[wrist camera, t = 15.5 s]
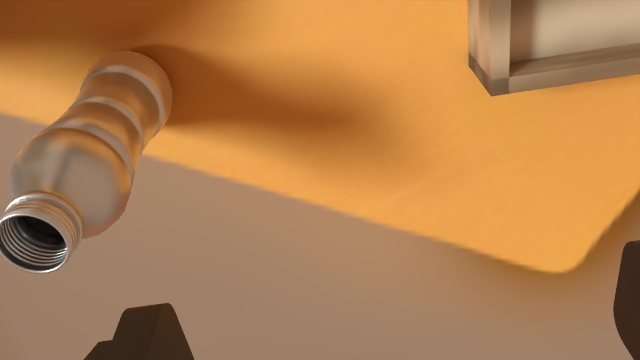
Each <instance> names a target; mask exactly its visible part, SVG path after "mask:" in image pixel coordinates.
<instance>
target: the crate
mask: <svg viewBox="0 0 640 360" xmlns="http://www.w3.org/2000/svg"><path fill="white" fill-rule="evenodd" d="M468 39H469V67H470V68H471V69H472V71H473V72H474V74H475V75H476V76H477V78H478V79H479V80H480V82H481V83H482V85H483V86H484V87H485V89H486V90H487V91H488V93H489V94H490V96H497V95H503V94H510V93H516V92H523V91H529V90H536V89H543V88H549V87H556V86H562V85H569V84H575V83H582V82H588V81H595V80H602V79H608V78H615V77H621V76H628V75H634V74H640V0H468Z"/></svg>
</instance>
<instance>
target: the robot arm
mask: <svg viewBox="0 0 640 360" xmlns="http://www.w3.org/2000/svg"><path fill="white" fill-rule="evenodd" d="M613 308H614V310H613V311H614V318H615V323H616V327H617V330H618V332H619V335H620V337H621V339H622V341H623V343H624V345H625V346H626V348H627V349H628V351H629V353H630V354H631V356H632V357H633V359H634V360H640V240H638V241H631V242H628V243H626V245H625V247H624V249H623V253H622V259H621V265H620V271H619V276H618V282H617V288H616V294H615V300H614V307H613ZM84 360H194V357H193V355H192V352H191V350H190V347H189V345H188V342H187V340H186V338H185V335H184V333H183V330H182V328H181V325H180V323H179V320H178V318H177V315H176V313H175V311H174V309H173V307H172V305H171V304H169V303H164V304H156V305H148V306H141V307H134V308H128V309H126V310H125V311H124V312H123V314H122V316H121V318H120V321H119V324H118V326H117V329H116V332H115V334H114V337H113V340H110V341H102V342H98V344H97V345H96V346H95V347H94V348H93V349H92V351H91V352H90V353H89V354H88V355H87V357H86V358H85V359H84Z"/></svg>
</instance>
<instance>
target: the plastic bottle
mask: <svg viewBox="0 0 640 360" xmlns="http://www.w3.org/2000/svg"><path fill="white" fill-rule="evenodd" d="M172 98H173V94H172V87H171V83H170V80H169V78H168V76H167V74H166V73H165V71H164V70H163V69H162V68H161V66H160V65H158V64H157V63H156V62H155V61H154V60H152V59H151V58H149V57H148V56H145V55H143V54H141V53H137V52H133V51H120V52H115V53H112V54H110V55H107V56H106V57H104V58H102V59H100V60H99V61H97V62H96V63H94V65H93V66H92V67H91V68H90V69H89V71H88V73H87V74H86V76H85V78H84V81H83V83H82V85H81V89H80V92H79V94H78V96H77V97H76V99H75V101H74V102H73V104H72V106H71V107H70V108H69V109H68V110H67V111H66V112H65V113H64V114H63V115H62V116H61V117H60V118H59V119H58V120H57V121H56V122H54V123H53V124H51V125H50V126H48V127H47V128H46V129H44V130H43V131H41V132H40V133H39V134H37V135H36V136H34V137H33V138H31V139H30V140H29V141H28V142H27V143H26V144H25V145H24V146H23V147H22V148H21V149H20V150H19V152H18V153H17V155H16V157H15V159H14V161H13V164H12V168H11V172H10V177H9V190H10V193H11V197H12V201H11V203H10V204H9V205H8V206H7V208H6V210H5V212H4V215H3V216H2V217H1V218H0V255H1V256H2V257H3V258H4V259H5V260H6V261H7V262H8V263H10V264H11V265H13V266H14V267H16V268H19V269H21V270H23V271H27V272H31V273H49V272H53V271H56V270H58V269H59V268H61V267H62V266H63V265H64V264H65V263H66V262H67V261H68V259H69V258H70V256H71V254H72V252H73V251H74V250H75V249H76V248H77V247H78V246H79V244H80V242H81V241H82V240H83V239H87V238H90V237H93V236H96V235H99V234H100V233H102V232H104V231H106V230H107V229H108V228H109V227H110V226H112V225H113V224H114V223H115V222H116V221H117V220H118V219H119V218H120V217H121V215H122V214H123V212H124V211H125V208H126V205H127V202H128V200H129V197H130V194H131V188H132V184H133V179H134V174H135V169H136V167H137V164H138V161H139V159H140V156H141V154H142V151H143V150H144V148H145V147H146V145H147V144H148V142H149V141H150V140H151V138H153V137H154V136H155V135H156V134H157V133H158V132H159V131H160V130H161V128H162V127H163V126H164V125H165V123H166V122H167V120H168V119H169V116H170V113H171V108H172Z"/></svg>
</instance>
